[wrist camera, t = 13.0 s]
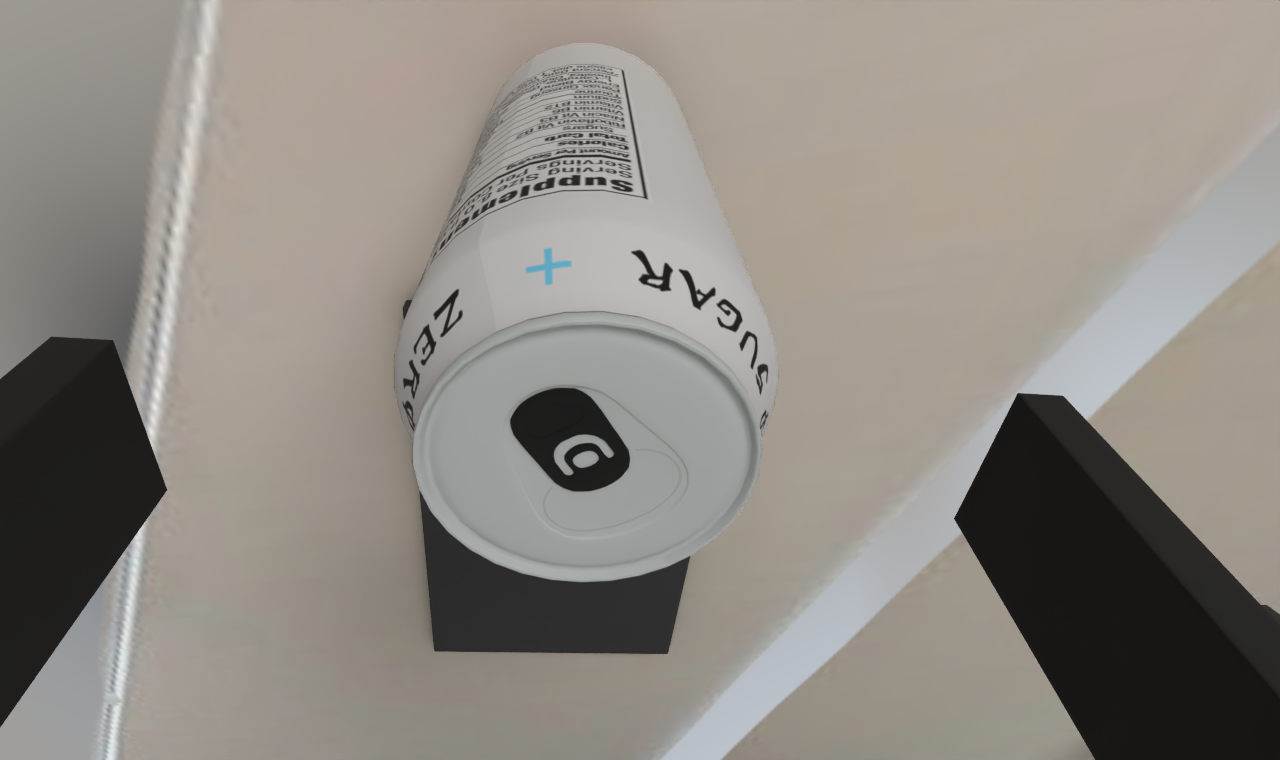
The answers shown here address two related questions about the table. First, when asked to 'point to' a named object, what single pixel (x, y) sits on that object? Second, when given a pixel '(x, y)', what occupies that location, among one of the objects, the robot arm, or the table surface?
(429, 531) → the desk mat
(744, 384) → the energy drink can
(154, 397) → the table surface
